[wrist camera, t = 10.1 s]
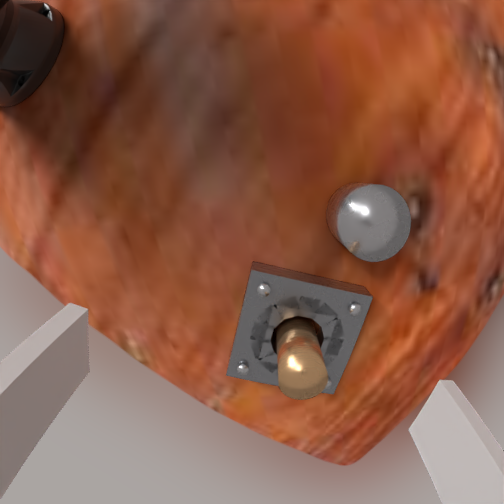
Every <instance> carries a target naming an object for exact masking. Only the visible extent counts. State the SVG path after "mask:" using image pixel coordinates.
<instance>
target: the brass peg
mask: <svg viewBox="0 0 504 504" xmlns="http://www.w3.org/2000/svg"><path fill="white" fill-rule="evenodd" d="M276 342H277V362H278V383H279V388H280V390H281V391H282V392H283V393H284V394H285V395H286V396H288V397H290V398H293V399H298V400H303V399H309V398H312V397H315V396H316V395H318V394H320V393H321V392H322V391H323V390H324V388H325V387H326V385H327V383H328V373H327V370H326V366H325V363H324V359H323V356H322V352H321V349H320V345H319V342H318V338H317V335H316V331H315V328H314V325H313V321H312V319H311V318H308V317H303V316H295V317H291V318H287V319H284V320H283V321H282V322H281V323H279V324H278V325H277V326H276Z"/></svg>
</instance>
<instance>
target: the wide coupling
mask: <svg viewBox="0 0 504 504" xmlns="http://www.w3.org/2000/svg"><path fill="white" fill-rule="evenodd" d="M326 220H327V224H328V227H329V229H330V231H331V233H332V234H333V236H334V237H335V238H336V239H337V240H338V241H339V242H340V243H342V244H343V245H344V246H345V247H346V248H347V249H348V250H349V251H350V252H351V253H352V254H353V255H355V256H356V257H358V258H360V259H362V260H365V261H370V262H378V261H383V260H386V259H389V258H390V257H392V256H394V255H395V254H396V253H397V252H398V251H400V249H401V248H402V247H403V246H404V244H405V242H406V240H407V238H408V236H409V232H410V227H411V217H410V212H409V208H408V206H407V204H406V202H405V200H404V199H403V198H402V196H401V195H400V194H399V193H398V192H396V191H395V190H394V189H392V188H390V187H387V186H384V185H377V184H367V183H349V184H346V185H344V186H342V187H341V188H339V189H338V190H337V191H336V192H335V193H334V194H333V195H332V197H331V198H330V200H329V202H328V205H327V210H326Z"/></svg>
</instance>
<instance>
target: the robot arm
mask: <svg viewBox="0 0 504 504" xmlns="http://www.w3.org/2000/svg"><path fill="white" fill-rule="evenodd" d="M63 35H64V22H63V18H62V16H61V14H60V12H59V11H58V10H57V9H55V8H54V7H52V6H51V5H49V4H47V3H44V2H40V1H30V0H0V106H2V107H10V106H14V105H16V104H18V103H20V102H22V101H23V100H25V99H26V98H27V97H28V96H30V95H31V94H32V93H33V92H34V91H35V90H36V89H37V88H38V86H39V85H40V84H41V83H42V81H43V80H44V79H45V77H46V76H47V74H48V73H49V71H50V69H51V68H52V66H53V64H54V62H55V60H56V58H57V55H58V53H59V50H60V47H61V44H62V40H63ZM89 370H90V369H89V346H88V309H86V308H84V307H81V306H78V305H75V304H72V303H69V304H68V305H67V306H65V307H64V308H63V309H62V310H60V311H59V312H58V313H57V314H55V315H54V316H53V317H52V318H51V319H49V320H48V321H47V322H46V323H45V324H43V325H42V326H41V327H40V328H39V329H37V330H36V331H35V332H34V333H33V334H31V335H30V336H29V337H28V338H27V339H26V340H25V341H23V342H22V343H21V344H20V345H19V346H18V347H16V348H15V349H14V350H13V351H12V352H11V353H9V354H8V355H7V356H6V357H5V358H4V359H3V360H2V361H1V362H0V499H1V498H2V496H3V495H4V493H5V492H6V490H7V489H8V487H9V485H10V484H11V482H12V481H13V479H14V478H15V476H16V475H17V473H18V471H19V470H20V468H21V467H22V465H23V464H24V462H25V461H26V459H27V457H28V456H29V455H30V453H31V452H32V451H33V449H34V447H35V446H36V444H37V443H38V442H39V440H40V439H41V437H42V436H43V434H44V433H45V432H46V430H47V429H48V427H49V426H50V424H51V423H52V422H53V420H54V419H55V418H56V416H57V415H58V413H59V412H60V410H61V409H62V408H63V406H64V405H65V403H66V402H67V401H68V399H69V398H70V397H71V395H72V394H73V392H74V391H75V390H76V389H77V387H78V386H79V385H80V383H81V382H82V381H83V379H84V378H85V377H86V375H87V374H88V373H89ZM408 430H409V432H410V434H411V436H412V438H413V440H414V443H415V445H416V447H417V449H418V451H419V453H420V456H421V458H422V460H423V462H424V464H425V466H426V469H427V471H428V473H429V475H430V478H431V480H432V482H433V484H434V487H435V489H436V491H437V493H438V496H439V498H440V501H441V503H442V504H504V450H503V449H502V448H501V446H500V445H499V443H498V442H497V440H496V439H495V438H494V436H493V435H492V434H491V432H490V430H489V429H488V427H487V426H486V425H485V423H484V422H483V420H482V419H481V418H480V416H479V415H478V413H477V412H476V411H475V410H474V408H473V407H472V405H471V404H470V403H469V401H468V400H467V399H466V397H465V396H464V394H463V393H462V392H461V391H460V389H459V388H458V387H457V385H456V384H455V383H454V382H453V381H452V380H439V382H438V383H437V385H436V387H435V388H434V390H433V392H432V394H431V395H430V397H429V398H428V400H427V402H426V403H425V405H424V406H423V408H422V410H421V411H420V413H419V415H418V416H417V417H416V419H415V420H414V422H413V423H412V425H411V426H410V428H409V429H408Z"/></svg>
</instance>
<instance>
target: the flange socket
mask: <svg viewBox="0 0 504 504" xmlns="http://www.w3.org/2000/svg"><path fill="white" fill-rule="evenodd" d="M372 298H373V296H372V295H371V294H370V293H369V292H368V290H367V289H366V288H365V287H364V286H359V285H355V284H350V283H346V282H342V281H337V280H333V279H328V278H324V277H319V276H315V275H311V274H306V273H302V272H298V271H293V270H289V269H284V268H280V267H276V266H271V265H267V264H263V263H258V262H254V261H253V263H252V267H251V271H250V275H249V280H248V284H247V288H246V292H245V296H244V301H243V305H242V309H241V313H240V317H239V322H238V326H237V330H236V334H235V338H234V342H233V347H232V351H231V355H230V359H229V364H228V369H227V374H226V375H227V376H231V377H236V378H240V379H245V380H250V381H255V382H260V383H265V384H271V385H276V386H279V383H278V362H277V342H276V340H275V339H274V338H273V335H272V333H273V329H274V328H275V327H276V326H277V325H278V324H279V323H281V322H282V321H283V320H284V319H287V318H291V317H295V316H303V317H308V318H312V319H313V320H314V321H315V322H317V323H318V324H319V325H320V327H319V330H318V333H317V338H318V342H319V345H320V349H321V352H322V356H323V359H324V363H325V366H326V370H327V373H328V383H327V385H326V387H325V388H324V390H323V391H322V392H321V393H328V394H334V392H335V390H336V387H337V385H338V383H339V381H340V379H341V376H342V374H343V372H344V369H345V367H346V365H347V362H348V360H349V358H350V355H351V353H352V350H353V348H354V346H355V343H356V341H357V338H358V336H359V333H360V330H361V328H362V325H363V323H364V320H365V317H366V315H367V312H368V309H369V306H370V304H371V301H372Z"/></svg>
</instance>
